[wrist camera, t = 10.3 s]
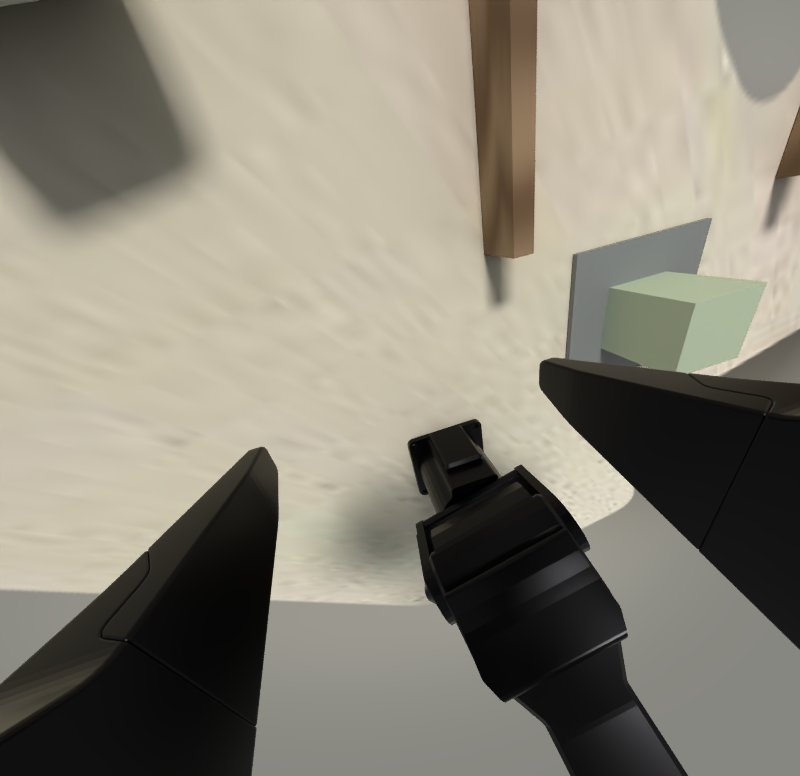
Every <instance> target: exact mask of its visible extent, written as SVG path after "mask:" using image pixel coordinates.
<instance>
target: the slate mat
mask: <svg viewBox="0 0 800 776" xmlns="http://www.w3.org/2000/svg"><path fill="white" fill-rule="evenodd" d="M711 220H712V218H706V219H702V220H698V221H695V222H691V223H687V224H684V225H680V226H676V227H673V228H669V229H665V230H662V231H658V232H654V233H651V234H647V235H643V236H640V237H636V238H632V239H628V240H625V241H621V242H617V243H614V244H610V245H606V246H603V247H599V248H595V249H592V250H588V251H584V252H581V253H577V254H574V255H573V268H572V281H571V294H570V307H569V320H568V333H567V346H566V359H571V360H579V361H588V362H597V363H605V364H614V365H623V366H631V367H636V366H639V365H641V364H638V363H636V362H633V361H631V360H628V359H626V358H624V357H621V356H619V355H616V354H614V353H611V352H609V351H606V350H604V349H601V342H602V335H603V328H604V321H605V314H606V307H607V300H608V293H609V288H610V287H613V286H617V285H620V284H624V283H627V282H631V281H634V280H638V279H641V278H645V277H648V276H652V275H656V274H659V273H663V272H666V271H668V272H677V273H686V274H696V275H697V271H698V267H699V264H700V260H701V256H702V253H703V249H704V246H705V242H706V238H707V235H708V231H709V227H710V224H711Z"/></svg>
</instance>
